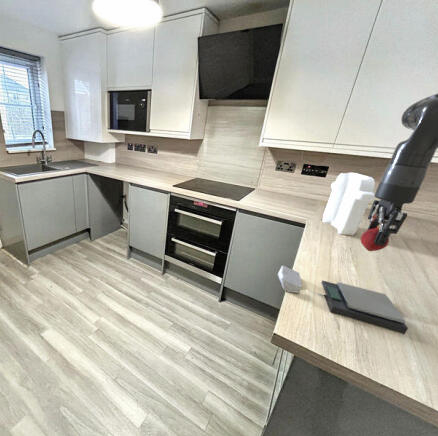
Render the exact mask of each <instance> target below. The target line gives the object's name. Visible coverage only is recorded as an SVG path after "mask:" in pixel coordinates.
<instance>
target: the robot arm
mask: <svg viewBox="0 0 438 436" xmlns="http://www.w3.org/2000/svg"><path fill="white" fill-rule="evenodd" d="M400 119H401V124H402V126H403V127H404V128H406V129H408V130H412V133H411V134H410V136H409V138H407V139H405V140H403V141H400V142H399V143H398V144H397V145H396V147H395V149H394V151H393V153H392V156H391V157H390V160H389V163H388V165H387V166H386V168H385V169H384V172H383V173H382V176H381V178H380V181H379V183H378V186H377V188H376V190H375V193H374V194H375V198H377V199H378V200H376V199H374V200H373V201H372V205H371V208H370V211H369V214H368V216H367V220H368V223H369V225H368V227H367V230H370V229H374V228H377V227H378V226H380V228H379V231H378V234H377V236H376V238H375V240H374V243H375V244H376V245H381V246H384V245H385V244H386V242H387V240H388V238H389V239H390V235H397V234H398V232H399V231H400V229H401V227H402V225H403V224H404V222H405V220H406V219H407V217H408V213H406V212H402V210H403V205H406V204H412V203H414V201H415V199H416V197H417V195H418V192H419V191H420V189H421V187H422V185H423V182H424V180H425V178H426V176H427V172H428V169H429V166H430V164H431V162H432V160H433V158H434V156H435V154H436V152H437V150H438V93H435V94H432V95H430V96H427V97H424V98H422V99H420V100H418V101H416V102H414V103H413V104H411V105H410V106H408V107H407V108H406V109H405V110H404V112H403V113H402V115H401V118H400ZM367 230H366V231H367Z"/></svg>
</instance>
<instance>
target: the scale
mask: <svg viewBox="0 0 438 436" xmlns="http://www.w3.org/2000/svg"><path fill="white" fill-rule="evenodd" d="M336 284H337V283H334V282H331V281H327V280H326V281H325V280H321V285H322V287H323V291H324V294H323V297H324V298H325V301H326V305H327V306H328V310H329V311H330V312H329V313H331V314H335V315H337V316H338V315H339V316H342V317H345V318H349V319H353V320H355V321H359V322H362V323H366V324H369V325H373V326H376V327H379V328H383V329H386V330H390V331H392V332H397V333H400V334H403V335H405V334H406V333H407V331H408V329H409V327H408V326H407V324H406V322H405V323H404V324H403V323H400V322H396V321H392V320H389V319H385V318H382V317H378V316H375V315H371V314H368V313H364V312H361V311H357V310H354V309H350V308H347V306H346V304H345V302H344V299H343V297H342V295H341V293H340V291H339V289H338V287H337V285H336Z"/></svg>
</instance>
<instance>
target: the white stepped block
mask: <svg viewBox="0 0 438 436" xmlns="http://www.w3.org/2000/svg"><path fill="white" fill-rule="evenodd" d="M375 185H376V182H375V179H374V178H373V177H372V176H369V175H365V174H360V173H358V172H341V173H340V174H338V175H337V177H336V180H335V181H333V182H332V183H331V185H330V188H331V192H330V195H329V199H328V200H327V203H326V206H325V209H324V212H323V216H322V223H326V224H330V225H331V226H332V227H334V228H336V229H337V234H339V235H343V236H354V235H355V234H356V232H357V231H358V229H359V227H360V224H361V222H362V220H363V217H364V215H365V212H366V210H367V207H368V205H369V202H373V201H374V200H375V198H376V197H375V193H374V190H375Z"/></svg>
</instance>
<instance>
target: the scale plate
mask: <svg viewBox="0 0 438 436" xmlns="http://www.w3.org/2000/svg"><path fill="white" fill-rule="evenodd" d="M335 284H336V285H337V287H338V289H339V291H340V293H341V295H342V297H343V299H344V302H345V304H346V306H347V308H350V309H354V310H357V311H361V312H364V313H368V314H371V315H375V316H378V317H382V318H385V319H389V320H392V321H396V322H400V323H403V324H404V323H405V324H406V319H405V318H404V317H403V315H402V314H401V312H399V311H400V310H398V308H396V306H395V304H394V303H393V302H392V301H391V299H390V298H389V297H388V295H387V294H386V293H382V292H378V291H374V290H371V289H368V288H363V287H360V286H359V287H358V286H355V285H351V284H347V283H343V282H339V281H337V282H336V283H335Z"/></svg>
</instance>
